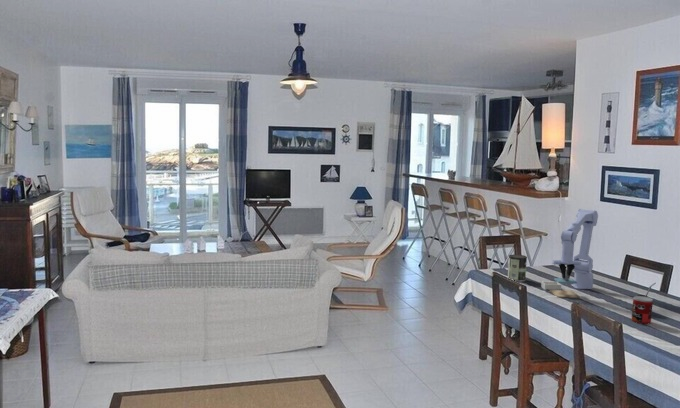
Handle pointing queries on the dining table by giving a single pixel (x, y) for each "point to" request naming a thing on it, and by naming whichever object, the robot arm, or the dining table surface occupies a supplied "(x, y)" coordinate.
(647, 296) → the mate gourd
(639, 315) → the canned food
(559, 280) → the lid
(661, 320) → the dining table surface
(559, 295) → the mat
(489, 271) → the dining table surface
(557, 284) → the box
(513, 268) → the coffee can
